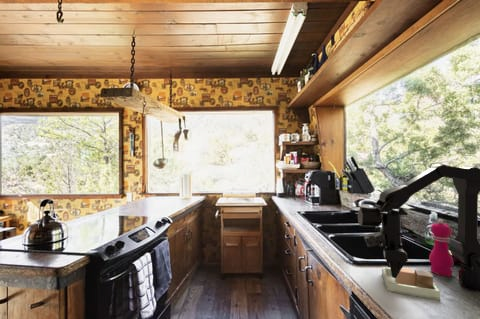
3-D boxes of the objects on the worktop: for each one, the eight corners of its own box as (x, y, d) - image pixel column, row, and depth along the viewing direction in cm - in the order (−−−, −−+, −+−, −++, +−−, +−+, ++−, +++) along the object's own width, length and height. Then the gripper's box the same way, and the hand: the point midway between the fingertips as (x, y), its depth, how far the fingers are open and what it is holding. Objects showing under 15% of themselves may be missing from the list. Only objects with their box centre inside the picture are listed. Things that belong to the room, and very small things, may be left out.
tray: (426, 280, 88) (426, 273, 88) (440, 300, 75) (440, 291, 75) (382, 274, 93) (382, 267, 93) (388, 291, 80) (387, 283, 80)
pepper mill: (431, 274, 93) (430, 220, 93) (427, 267, 99) (426, 216, 100) (456, 278, 89) (455, 222, 90) (450, 270, 96) (450, 218, 96)
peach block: (395, 277, 88) (412, 280, 87) (397, 282, 85) (414, 285, 83) (395, 266, 89) (411, 268, 87) (397, 271, 85) (414, 273, 83)
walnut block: (429, 287, 82) (429, 271, 82) (433, 293, 78) (433, 276, 78) (414, 284, 83) (414, 269, 83) (418, 290, 80) (417, 274, 80)
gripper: (363, 219, 99) (364, 259, 99) (367, 231, 82) (368, 279, 82) (396, 222, 95) (396, 263, 95) (407, 235, 78) (408, 285, 77)
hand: (391, 272), depth 87 cm, fingers open, 9 cm apart
